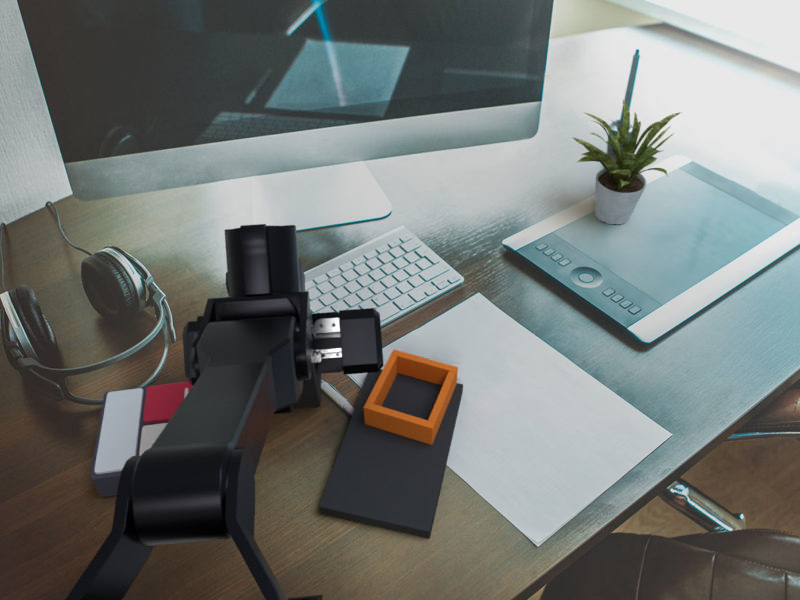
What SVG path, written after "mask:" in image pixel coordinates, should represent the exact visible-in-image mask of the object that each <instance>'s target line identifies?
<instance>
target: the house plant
mask: <svg viewBox="0 0 800 600" xmlns="http://www.w3.org/2000/svg"><path fill="white" fill-rule="evenodd" d="M622 107H623V108H622V109H623V111H622V112H623V117H622V118H623V119H622V127H620V126H619V125H618V124H617V123H616V122H615V121H613V120H612V119H610V121H611V122H612V123H613V124H614V125H615V126H616V128H617V132H616V134H615V131H614V130H613V129H612V128H611V126H610V124H609V123H607V122H606V121H605V120H604V119H602V118H600V117H598V116H595V115H594V114H590V113H588V112H584V111H582V113H583V114H585V115H587V116H589V117H591V118H592V119H594V120H591V121H592V122H594V123H596V124H598V125H600V126H601V128H602V129H603V130H604V132H605V133H606V136H607V138H608V140H605V139H604V138H603V137H602V136H600V135H599V134H597V133H595V132H589V135H593V136H596V137H598V138H600V139H601V140H602V141H603V142H605V144H607V146H608V147H609V148H610V150H611V152H612V154H613V156H614V158H615V160H614V159H613V157H611V156H610V155H609V154H608V153H607V152H605V151H604V150H602V149H600V148H599V147H596V146H595V145H593V144H592V143H590V142H588V141H586V140H584V139H580V138H576V137H572V139H573V140H574V141H575V142H576V143H578V144H580V145H582V146H583V147H584V148H585V149H586V152H583V153H581V154H580V156H583V157H581V158H580V159H579V160H578V161H577V163H579V162H580V163H581V162H582V163H583V162H585V163H586V162H595V163H596V162H597V163H600V164H601V165H602V166H603V168H601V169H600V170H599V171H598V172H597V173H596V175H595V185H594V186H595V189H594V216H595V217H596V219H597V218H598V221H600V220H601V221H600V222H602V221H603V222H606V223H607V224H606V223H605V224H606V225H610V224H612V225H611V226H614V225H613V224H617V225H616V226H619V225H618V224H621V225H624V224H626V223H627V222H628V221H629V220H630V217H631V216H632V214H633V213H634V210H635V208H636V206H637V205H638V202H639V200H640V199H641V197H642V195H643V193H644V191H645V189H646V187H647V184H648V183H647V179H646V178H645V176H644V174H642V173H645V172H646V171H657V172H661V173H664V174H665V175H666V177H667V178H668V172H667V170H666V169H665V168H662V167H651V168H647V169H645V168H646V167H648V166H650V165H651V164H653V163H655V162H656V161H657V160H658V158H657V157H655V155H656V154H658V153H661V152H665V150H659V149H658V148H660V147H661V146H662V145H664V143H665V142H666V141H668V140H669V139H670V138H671V137H672V136H673V135H674V133H672V134H671V135H669V136H667V137H666V138H664V139H663V140H662V141H661V142H659V143H658V144H657V145H656V146H655V147H652V146H654V144H656V143H657V142H658V141H659V140H660V139H661V138H662V137H663V136H664V135H665V133H667V131H668V130H669V129H670V128H671V127H672V125H669V126H668V127H667V128H666V129H664V130H663V131H662V132H660V131H661V130H662V129H663V128H664V127H666V125H667V124H669V122H671V120H673V118H675V117H677V116H679V115H680V114H682V112H680V111H679V112H676V113H672V114H669V115H667V116H666V117H663V118H662V119H661V120H659V121H655V122H653V123H651V124H650V125H648V127H646V128H645V130H644V131H643V132H642V133H641V135H640V131H641V127H642V123H641V121H639V120H638V115H637V113H636V112H634V115H633V116H634V117H633V125H632V128H631V129H632V130H631V135H630V138H629V134H630V121H631V113H630V109H629V108H628V105H627V103H626V101H625V100H624V99H622ZM658 133H659V134H658ZM657 134H658V136H657ZM639 135H640V137H639ZM638 138H639V139H638ZM643 139H644V140H643ZM653 139H654V140H653ZM642 140H643V141H642ZM641 142H642V143H641ZM639 145H640V146H639ZM637 149H638V150H637ZM635 152H636V153H635ZM643 169H644V170H643ZM603 222H602V223H603ZM623 223H624V224H623Z"/></svg>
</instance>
